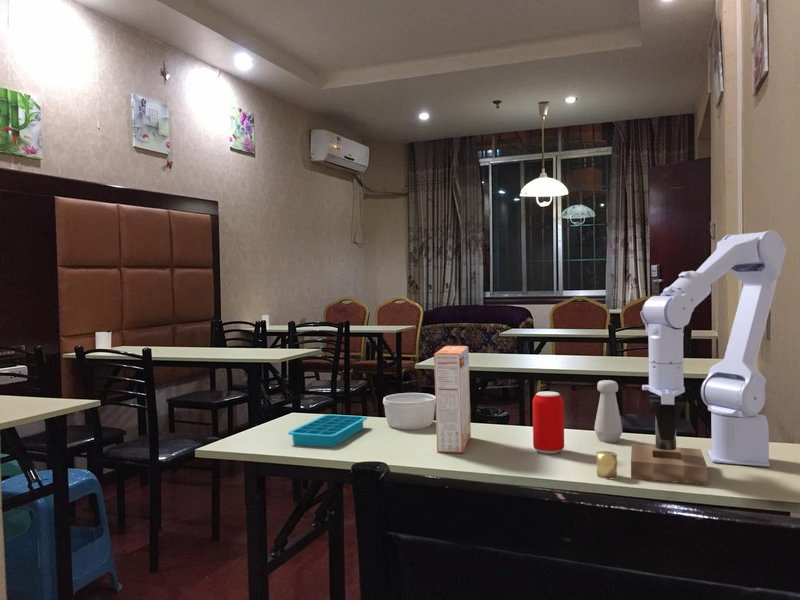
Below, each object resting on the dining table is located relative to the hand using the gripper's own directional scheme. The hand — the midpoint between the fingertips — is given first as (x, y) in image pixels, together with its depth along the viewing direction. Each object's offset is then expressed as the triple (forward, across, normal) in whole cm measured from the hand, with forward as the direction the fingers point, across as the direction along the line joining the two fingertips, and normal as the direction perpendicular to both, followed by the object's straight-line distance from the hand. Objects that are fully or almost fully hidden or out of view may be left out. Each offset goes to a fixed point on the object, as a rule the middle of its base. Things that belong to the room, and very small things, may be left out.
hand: (666, 437), depth 108 cm
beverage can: (+6, -7, -22) cm, 24 cm away
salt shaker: (+6, -20, -11) cm, 24 cm away
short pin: (+6, +6, -10) cm, 13 cm away
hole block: (+6, 0, 0) cm, 6 cm away
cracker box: (+6, -6, -42) cm, 43 cm away
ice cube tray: (+7, -5, -72) cm, 73 cm away
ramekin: (+7, -21, -58) cm, 62 cm away
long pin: (+2, 0, 0) cm, 2 cm away
